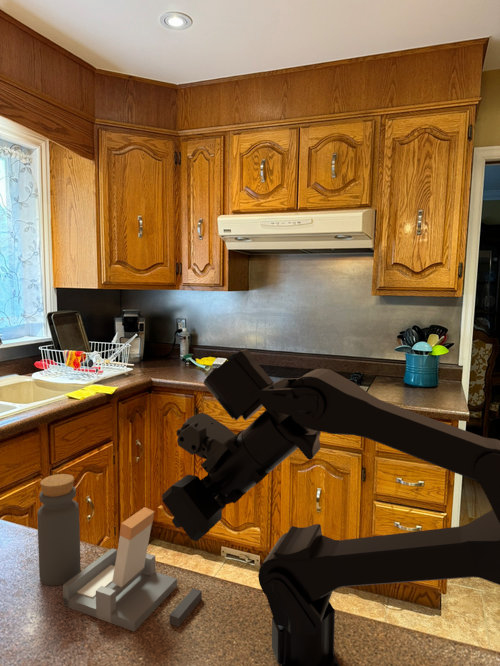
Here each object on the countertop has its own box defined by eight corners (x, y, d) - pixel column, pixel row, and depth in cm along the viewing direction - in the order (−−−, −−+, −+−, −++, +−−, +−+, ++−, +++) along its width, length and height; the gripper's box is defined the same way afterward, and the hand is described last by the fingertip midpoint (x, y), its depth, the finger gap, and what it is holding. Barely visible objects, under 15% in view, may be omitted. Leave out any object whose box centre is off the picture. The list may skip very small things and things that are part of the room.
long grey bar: (193, 596, 66) (193, 588, 65) (201, 598, 65) (201, 590, 65) (169, 623, 60) (169, 615, 60) (178, 626, 59) (178, 618, 59)
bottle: (66, 588, 67) (63, 489, 66) (30, 583, 68) (27, 485, 67) (88, 565, 73) (85, 473, 71) (55, 561, 74) (52, 470, 73)
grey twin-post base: (177, 586, 68) (176, 561, 67) (134, 631, 59) (133, 603, 58) (112, 566, 72) (111, 543, 72) (63, 605, 63) (62, 579, 63)
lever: (146, 573, 68) (157, 509, 66) (115, 601, 62) (127, 531, 60) (137, 568, 68) (148, 504, 67) (105, 596, 62) (117, 526, 60)
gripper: (248, 383, 65) (182, 448, 71) (176, 414, 48) (96, 497, 54) (300, 444, 63) (228, 507, 68) (244, 501, 46) (153, 578, 51)
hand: (181, 518), depth 60 cm, fingers open, 3 cm apart
